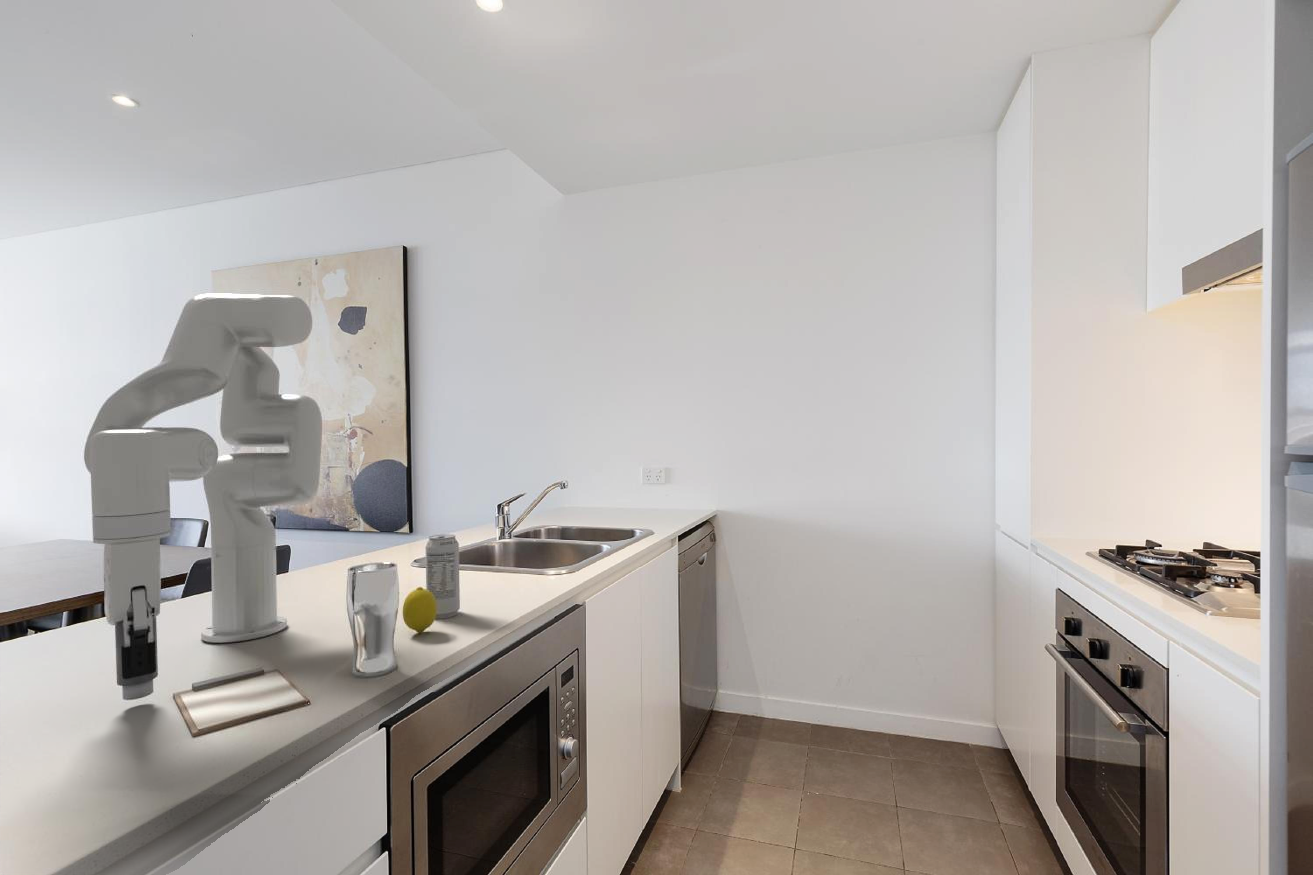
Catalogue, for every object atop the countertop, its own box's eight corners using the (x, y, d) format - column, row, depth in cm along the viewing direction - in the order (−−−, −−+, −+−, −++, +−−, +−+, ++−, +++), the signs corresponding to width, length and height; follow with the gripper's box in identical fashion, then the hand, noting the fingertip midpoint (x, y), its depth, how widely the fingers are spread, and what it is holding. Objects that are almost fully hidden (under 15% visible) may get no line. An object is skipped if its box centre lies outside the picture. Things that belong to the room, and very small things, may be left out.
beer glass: (366, 682, 84) (364, 573, 84) (337, 673, 88) (335, 568, 88) (410, 666, 90) (408, 564, 90) (381, 658, 94) (380, 560, 94)
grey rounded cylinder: (115, 694, 78) (112, 601, 78) (156, 684, 81) (154, 594, 81) (118, 705, 75) (114, 607, 75) (160, 694, 78) (157, 600, 78)
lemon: (442, 628, 108) (441, 583, 109) (428, 638, 103) (427, 591, 103) (412, 628, 109) (412, 583, 109) (396, 638, 104) (395, 590, 104)
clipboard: (172, 696, 81) (172, 687, 81) (277, 671, 89) (277, 662, 89) (192, 736, 69) (192, 725, 69) (310, 703, 78) (310, 693, 78)
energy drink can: (463, 610, 120) (462, 533, 120) (454, 618, 114) (452, 538, 114) (433, 610, 120) (432, 534, 120) (421, 619, 114) (420, 539, 114)
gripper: (89, 523, 81) (94, 660, 81) (96, 539, 69) (101, 700, 69) (162, 516, 86) (166, 645, 87) (179, 530, 74) (184, 680, 75)
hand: (137, 668), depth 78 cm, fingers closed on grey rounded cylinder, 4 cm apart
